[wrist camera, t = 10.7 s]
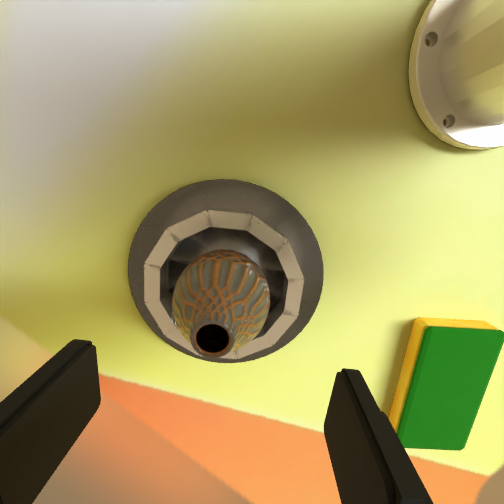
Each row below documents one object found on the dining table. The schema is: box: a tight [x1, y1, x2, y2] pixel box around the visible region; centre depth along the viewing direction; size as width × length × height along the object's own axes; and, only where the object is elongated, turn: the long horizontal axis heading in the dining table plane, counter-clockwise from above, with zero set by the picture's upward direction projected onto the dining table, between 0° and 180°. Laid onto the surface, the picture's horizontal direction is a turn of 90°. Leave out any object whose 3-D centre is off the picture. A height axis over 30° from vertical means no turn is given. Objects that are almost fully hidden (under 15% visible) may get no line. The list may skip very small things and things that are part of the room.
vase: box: [172, 249, 270, 358], centre depth 18 cm, size 7×7×9 cm
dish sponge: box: [389, 317, 504, 450], centre depth 25 cm, size 7×14×2 cm, turn 176°
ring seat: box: [128, 179, 323, 363], centre depth 21 cm, size 17×17×3 cm
